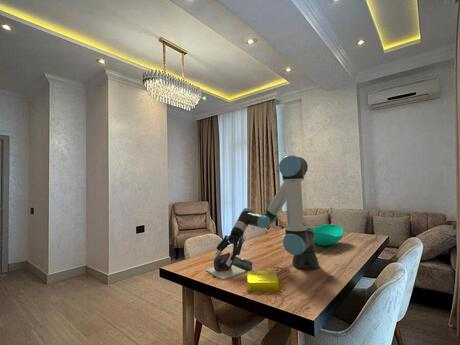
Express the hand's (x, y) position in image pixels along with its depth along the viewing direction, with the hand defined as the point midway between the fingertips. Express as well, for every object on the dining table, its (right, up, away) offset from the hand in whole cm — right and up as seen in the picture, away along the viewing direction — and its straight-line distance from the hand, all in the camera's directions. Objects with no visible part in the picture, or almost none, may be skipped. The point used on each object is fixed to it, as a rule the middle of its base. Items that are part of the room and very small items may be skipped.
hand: (221, 263), depth 131 cm
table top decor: (+79, -7, +54) cm, 96 cm away
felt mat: (+3, -5, +2) cm, 6 cm away
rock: (+2, -5, +2) cm, 6 cm away
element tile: (+21, -5, -16) cm, 27 cm away
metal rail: (+12, -6, +8) cm, 16 cm away
